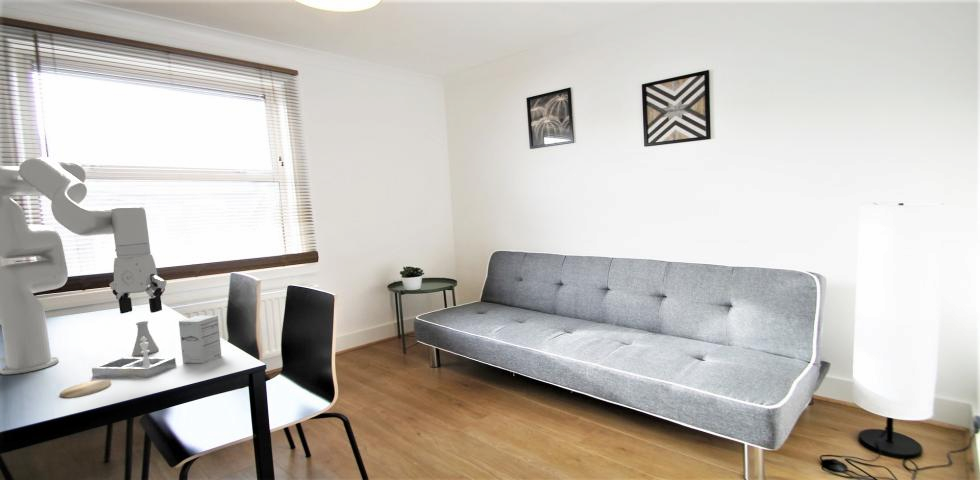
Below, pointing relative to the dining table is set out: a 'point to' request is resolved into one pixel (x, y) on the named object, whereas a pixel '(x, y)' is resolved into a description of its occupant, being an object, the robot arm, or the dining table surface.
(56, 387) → the dining table surface
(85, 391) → the coaster
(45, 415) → the dining table surface
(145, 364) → the chess piece
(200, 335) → the supplement box
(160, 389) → the dining table surface
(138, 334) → the flask
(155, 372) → the divided tray
